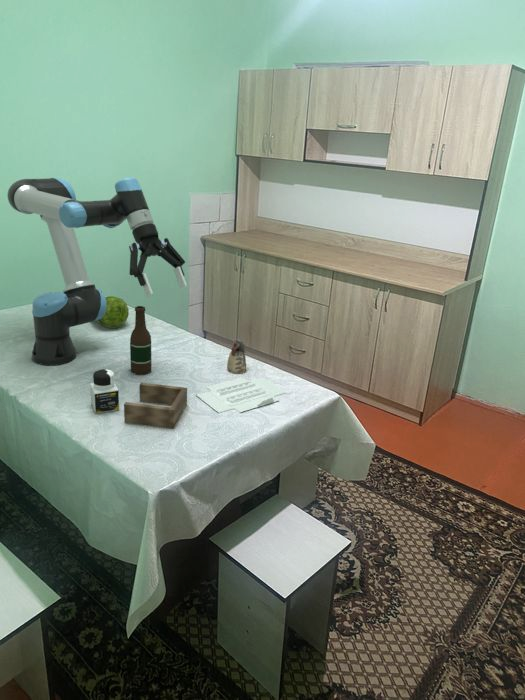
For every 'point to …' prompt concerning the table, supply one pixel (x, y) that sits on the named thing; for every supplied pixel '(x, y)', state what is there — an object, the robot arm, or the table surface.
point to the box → (157, 413)
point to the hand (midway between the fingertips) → (167, 291)
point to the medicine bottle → (104, 392)
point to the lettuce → (114, 312)
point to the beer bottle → (140, 345)
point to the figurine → (237, 358)
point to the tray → (241, 394)
